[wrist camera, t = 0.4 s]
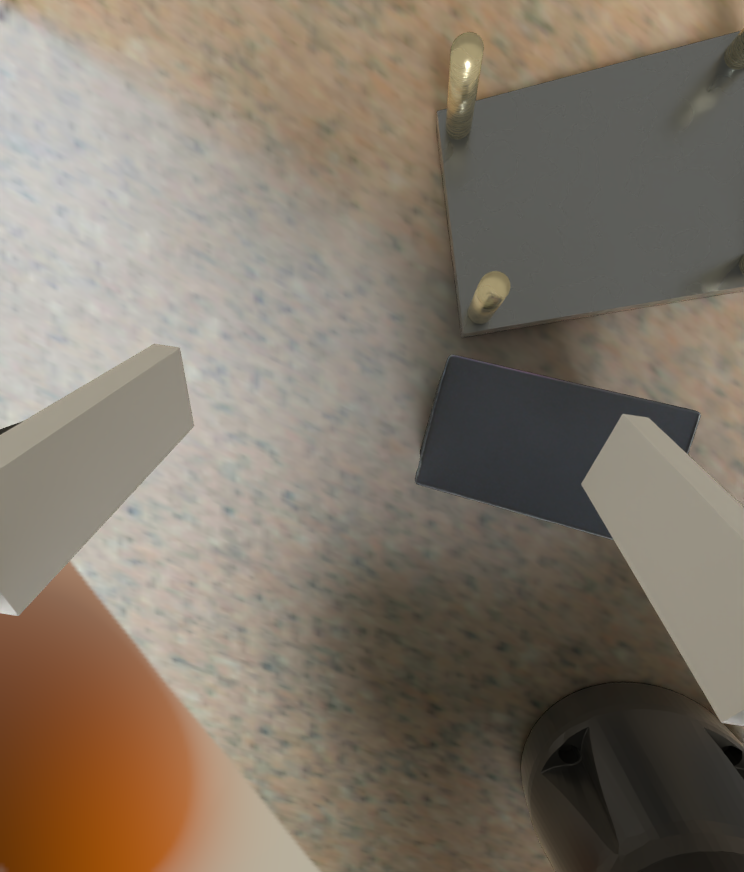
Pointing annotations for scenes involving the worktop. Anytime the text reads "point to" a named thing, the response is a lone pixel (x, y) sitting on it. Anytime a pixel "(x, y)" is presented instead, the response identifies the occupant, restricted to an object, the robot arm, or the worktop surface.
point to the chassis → (595, 186)
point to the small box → (529, 439)
